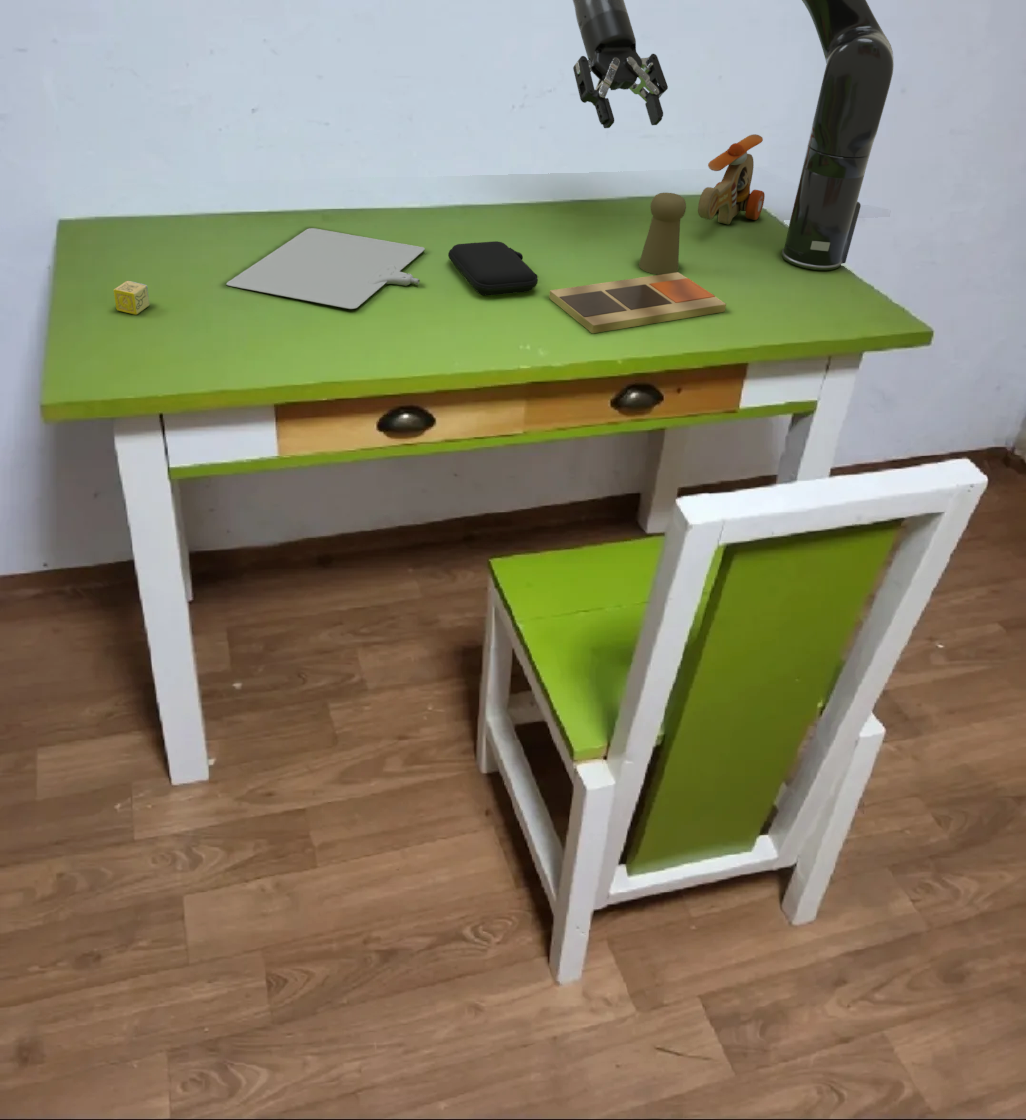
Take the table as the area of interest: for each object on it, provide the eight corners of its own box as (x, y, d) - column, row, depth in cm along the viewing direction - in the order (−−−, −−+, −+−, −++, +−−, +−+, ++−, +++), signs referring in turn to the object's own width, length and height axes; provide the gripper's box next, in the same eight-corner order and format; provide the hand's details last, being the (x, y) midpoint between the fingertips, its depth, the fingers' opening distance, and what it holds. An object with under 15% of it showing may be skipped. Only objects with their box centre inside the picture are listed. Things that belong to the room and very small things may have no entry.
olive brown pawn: (676, 277, 159) (689, 204, 152) (636, 271, 160) (647, 198, 153) (679, 262, 164) (692, 191, 157) (640, 257, 164) (651, 186, 158)
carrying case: (548, 294, 150) (510, 255, 161) (550, 274, 149) (512, 236, 159) (478, 301, 147) (444, 261, 158) (479, 280, 145) (444, 241, 156)
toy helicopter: (763, 215, 185) (781, 133, 176) (721, 249, 170) (738, 162, 162) (719, 204, 188) (734, 123, 179) (674, 237, 173) (689, 150, 165)
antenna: (381, 319, 140) (381, 310, 139) (224, 288, 145) (223, 280, 145) (450, 256, 159) (451, 248, 158) (309, 231, 164) (309, 224, 164)
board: (676, 279, 158) (678, 271, 158) (724, 311, 150) (726, 303, 149) (548, 298, 149) (549, 289, 149) (592, 333, 141) (593, 324, 140)
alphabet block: (150, 306, 138) (147, 284, 136) (137, 315, 136) (133, 293, 134) (129, 302, 139) (126, 279, 137) (116, 311, 136) (112, 288, 134)
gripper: (574, 8, 154) (605, 112, 153) (655, 7, 159) (685, 108, 158) (552, 39, 160) (582, 140, 159) (631, 37, 166) (660, 134, 165)
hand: (633, 124), depth 159 cm, fingers open, 8 cm apart
